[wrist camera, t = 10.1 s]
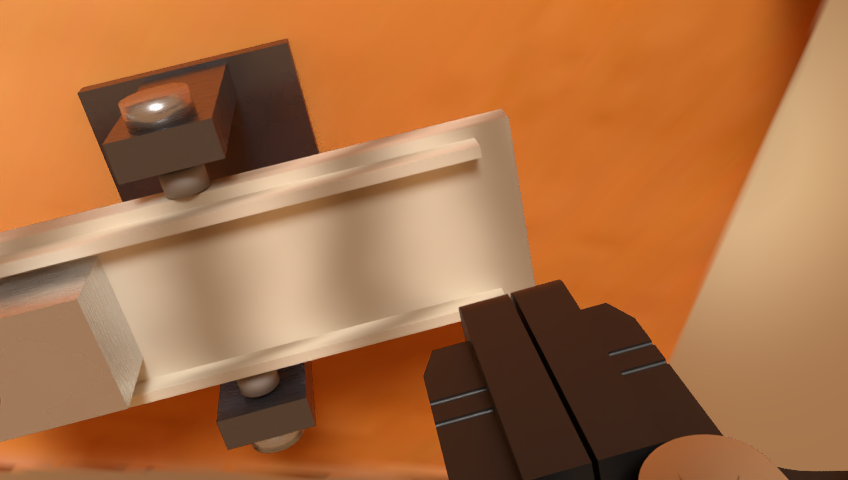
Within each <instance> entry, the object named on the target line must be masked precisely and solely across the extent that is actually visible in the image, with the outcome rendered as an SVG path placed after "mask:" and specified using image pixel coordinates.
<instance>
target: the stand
mask: <svg viewBox="0 0 848 480" xmlns="http://www.w3.org/2000/svg"><path fill="white" fill-rule="evenodd" d="M78 95H79V98H80V100H81V103H82V105H83V107H84V110H85V112H86V115H87V117H88V120H89V122H90V124H91V127H92V129H93V132H94V134H95V136H96V139H97V141H98V144H99V146H100V148H101V151H102V153H103V156H104V158H105V161H106V163H107V165H108V168H109V170H110V173H111V175H112V177H113V180H114V182H115V185H116V187H117V190H118V192H119V194H120V197H121V199H122V202H126V201H130V200H134V199H138V198H142V197H146V196H150V195H154V194H158V193H162V192H164V191H163V188H162V186H161V183H160V181H159V178H158V175H161V174H165V173H169V172H173V171H177V170H181V169H185V168H189V167H193V166H197V165H201V164H204V165H205V168H206V171H207V174H208V177H209V179H210V181H211V180H215V179H219V178H223V177H227V176H231V175H235V174H239V173H243V172H247V171H251V170H255V169H260V168H264V167H268V166H272V165H276V164H280V163H284V162H288V161H292V160H296V159H300V158H304V157H308V156H312V155H316V154H320V153H319V150H318V146H317V143H316V139H315V136H314V132H313V128H312V125H311V121H310V118H309V114H308V110H307V107H306V103H305V100H304V96H303V93H302V89H301V85H300V82H299V78H298V75H297V71H296V67H295V64H294V60H293V57H292V53H291V50H290V46H289V42H288V39H284V40H279V41H275V42H271V43H267V44H263V45H259V46H255V47H250V48H246V49H242V50H238V51H234V52H230V53H225V54H221V55H217V56H213V57H209V58H205V59H200V60H196V61H192V62H188V63H184V64H180V65H175V66H171V67H167V68H163V69H159V70H155V71H150V72H146V73H142V74H138V75H134V76H130V77H125V78H121V79H117V80H113V81H109V82H105V83H100V84H96V85H92V86H88V87H84V88H82V89H81V90H80V91H79V92H78ZM277 372H278V375H279V378H280V381H279V384H278V385H277V387H276V388H275V389H273V390H272V391H271V392H269V393H267V394H265V395H263V396H260V397H253V398H251V397H246V396H244V395H242V393H241V391H240V388H239V386H238V383H237V381H236V380H234V381H230V382H227V383H223V384H221V386H220V395H219V404H218V413H217V425H218V427H219V430H220V432H221V434H222V437H223V439H224V442H225V444H226V447H227V449H228V450H230V449H233V448H237V447H241V446H244V445H248V444H252V447H253V448H254V449H255V450H256V451H258V452H261V453H275V452H279V451H282V450H285V449H287V448H289V447H291V446H292V445H294V444H295V443H296V442H297V441H298V440H299V439H300V438H301V437H302V435H303V434H304V431H305V429H306V428H310V427H314V426H316V421H315V407H314V392H313V378H312V363H311V361H307V362H303V363H299V364H295V365H292V366H288V367H284V368H280V369H277Z"/></svg>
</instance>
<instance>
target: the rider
mask: <svg viewBox="0 0 848 480" xmlns="http://www.w3.org/2000/svg"><path fill="white" fill-rule="evenodd" d="M142 361H143V356H142V354H141V351H140V349H139V347H138V345H137V342H136V340H135V338H134V336H133V333H132V331H131V329H130V327H129V324H128V322H127V320H126V318H125V315H124V313H123V311H122V309H121V306H120V304H119V302H118V300H117V297H116V295H115V293H114V291H113V288H112V286H111V284H110V282H109V279H108V277H107V275H106V273H105V270H104V268H103V266H102V264H101V261H100V259H99V257H98V256H95V257H91V258H87V259H83V260H79V261H75V262H71V263H67V264H63V265H59V266H55V267H51V268H47V269H43V270H39V271H35V272H31V273H27V274H23V275H19V276H15V277H11V278H7V279H3V280H0V442H2V441H6V440H10V439H14V438H18V437H21V436H25V435H29V434H33V433H37V432H41V431H44V430H48V429H52V428H56V427H60V426H64V425H67V424H71V423H75V422H79V421H83V420H87V419H91V418H94V417H98V416H102V415H106V414H110V413H114V412H117V411H121V410H125V409H128V408H129V405H130V401H131V398H132V395H133V391H134V388H135V385H136V381H137V378H138V374H139V371H140V368H141V364H142Z"/></svg>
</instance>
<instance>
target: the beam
mask: <svg viewBox="0 0 848 480" xmlns="http://www.w3.org/2000/svg"><path fill="white" fill-rule="evenodd" d="M158 178H159V181H160V183H161V186H162V188H163V191H164V192H162V193H158V194H154V195H150V196H146V197H142V198H138V199H134V200H130V201H126V202H122V203H118V204H114V205H110V206H106V207H102V208H97V209H93V210H89V211H85V212H81V213H77V214H73V215H69V216H65V217H61V218H57V219H53V220H49V221H45V222H41V223H37V224H33V225H29V226H25V227H20V228H16V229H12V230H8V231H4V232H0V280H3V279H7V278H11V277H15V276H19V275H23V274H27V273H31V272H35V271H39V270H43V269H47V268H51V267H55V266H59V265H63V264H67V263H71V262H75V261H79V260H83V259H87V258H91V257H95V256H98V257H99V259H100V261H101V264H102V266H103V268H104V270H105V273H106V275H107V277H108V279H109V282H110V284H111V286H112V288H113V291H114V293H115V295H116V297H117V300H118V302H119V304H120V306H121V309H122V311H123V313H124V315H125V318H126V320H127V322H128V324H129V327H130V329H131V331H132V333H133V336H134V338H135V340H136V342H137V345H138V347H139V349H140V351H141V354H142V356H143V361H142V364H141V368H140V371H139V374H138V378H137V381H136V385H135V388H134V391H133V395H132V398H131V401H130V405H129V408H131V407H135V406H139V405H142V404H146V403H150V402H154V401H158V400H161V399H165V398H169V397H173V396H177V395H181V394H184V393H188V392H192V391H196V390H200V389H204V388H207V387H211V386H215V385H219V384H223V383H227V382H230V381H234V380H236V381H237V383H238V386H239V388H240V391H241V393H242V395H244V396H246V397H251V398H253V397H260V396H263V395H265V394H267V393H269V392H271V391H272V390H273V389H275V388H276V387H277V385H278V384H279V381H280V378H279V375H278V372H277V369H280V368H284V367H288V366H292V365H295V364H299V363H303V362H307V361H311V360H315V359H318V358H322V357H326V356H330V355H334V354H337V353H341V352H345V351H349V350H353V349H357V348H360V347H364V346H368V345H372V344H376V343H380V342H383V341H387V340H391V339H395V338H399V337H403V336H406V335H410V334H414V333H418V332H422V331H426V330H429V329H433V328H437V327H441V326H445V325H448V324H452V323H456V322H460V321H461V319H460V314H459V307H461V306H465V305H468V304H472V303H476V302H479V301H483V300H487V299H490V298H494V297H498V296H501V295H505V294H508V295H509V297H510V294H511V293H512V292H515V291H519V290H523V289H526V288H530V287H534V286H535V281H534V275H533V268H532V262H531V256H530V249H529V243H528V237H527V230H526V224H525V218H524V211H523V205H522V199H521V192H520V186H519V180H518V173H517V167H516V161H515V154H514V148H513V142H512V135H511V129H510V123H509V117H508V116H507V115H506V114H505V113H504V111H503V110H502V109H499V110H494V111H490V112H486V113H482V114H478V115H474V116H470V117H466V118H462V119H458V120H454V121H450V122H446V123H442V124H438V125H434V126H430V127H426V128H422V129H418V130H413V131H409V132H405V133H401V134H397V135H393V136H389V137H385V138H381V139H377V140H373V141H369V142H365V143H361V144H357V145H353V146H349V147H345V148H341V149H336V150H332V151H328V152H324V153H320V154H316V155H312V156H308V157H304V158H300V159H296V160H292V161H288V162H284V163H280V164H276V165H272V166H268V167H264V168H260V169H255V170H251V171H247V172H243V173H239V174H235V175H231V176H227V177H223V178H219V179H215V180H211V181H210V179H209V177H208V174H207V171H206V168H205V165H204V164H201V165H197V166H193V167H189V168H185V169H181V170H177V171H173V172H169V173H165V174H161V175H158Z"/></svg>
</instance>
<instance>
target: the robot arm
mask: <svg viewBox="0 0 848 480" xmlns="http://www.w3.org/2000/svg"><path fill="white" fill-rule="evenodd" d="M459 314H460V319H461V323H462V327H463V331H464V336H465V340H466V342H462V343H459V344H455V345H451V346H448V347H444V348H440V349H437V350H433V351H432V354H431V356H430V359H429V362H428V365H427V368H426V371H425V373H424V376H423V377H424V381H425V385H426V389H427V393H428V397H429V401H430V405H431V409H432V413H433V417H434V421H435V425H436V429H437V433H438V437H439V441H440V445H441V449H442V453H443V457H444V461H445V465H446V469H447V474H448V478H449V480H848V471H813V472H812V471H797V470H790V469H784V468H780V467H776V466H775V465H774V463H772V461H771V460H770V459H769V458H768V457H766V456H765V455H764V454H763V453H761V452H760V451H759V450H757V449H756V448H754V447H753V446H750V445H748V444H746V443H744V442H742V441H739V440H736V439H733V438H729V437H725V436H723V435H722V434H721V432H720V431H719V430H718V428H717V427H716V426H715V425H714V423H713V422H712V420H711V419H710V418H709V416H708V415H707V414H706V412H705V411H704V410H703V408H702V407H701V406H700V404H699V403H698V402H697V400H696V399H695V398H694V396H693V395H692V394H691V392H690V391H689V390H688V389H687V387H686V386H685V384H684V383H683V382H682V381H681V379H680V378H679V376H678V375H677V374H676V372H675V371H674V370H673V369H672V367H671V366H670V364H667V363H666V360H665V358H664V356H663V355H662V354H661V353H660V351H659V350H658V349H657V347H656V346H655V345H653V344H652V341H651V339H650V338H649V337H648V335H647V334H646V333H645V331H644V330H643V329H642V327H641V326H640V325H639V323H638V322H637V321H636V319H635V318H633V317H632V316H630V315H628V314H626V313H624V312H622V311H620V310H618V309H617V308H615V307H613V306H611V305H609V304H607V303H604V304H600V305H597V306H593V307H589V308H586V309H582V310H580V308H579V306H578V305H577V303H576V302H575V300H574V299H573V297H572V296H571V294H570V292H569V291H568V289H567V288H566V286H565V285H564V283H563V282H562V281H561V280H556V281H552V282H548V283H545V284H541V285H537V286H534V287H530V288H526V289H523V290H519V291H515V292H512V293H511V294H510V297H509V295H508V294H505V295H501V296H498V297H494V298H490V299H487V300H483V301H479V302H476V303H472V304H468V305H465V306H461V307H459Z"/></svg>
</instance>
